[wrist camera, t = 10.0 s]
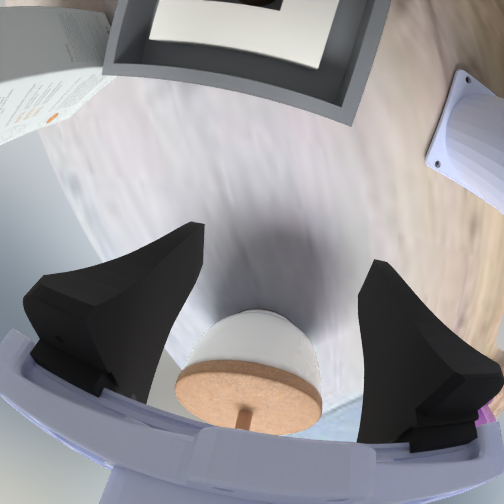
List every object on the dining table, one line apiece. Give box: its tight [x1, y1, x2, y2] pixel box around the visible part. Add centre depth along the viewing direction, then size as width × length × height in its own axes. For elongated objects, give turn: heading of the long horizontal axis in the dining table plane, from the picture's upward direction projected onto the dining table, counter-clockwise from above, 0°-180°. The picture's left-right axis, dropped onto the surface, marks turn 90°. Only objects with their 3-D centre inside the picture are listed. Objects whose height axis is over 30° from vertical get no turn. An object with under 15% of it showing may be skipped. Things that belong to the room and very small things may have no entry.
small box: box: [0, 6, 117, 145], centre depth 11 cm, size 8×6×13 cm
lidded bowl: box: [175, 309, 322, 435], centre depth 24 cm, size 13×13×11 cm
